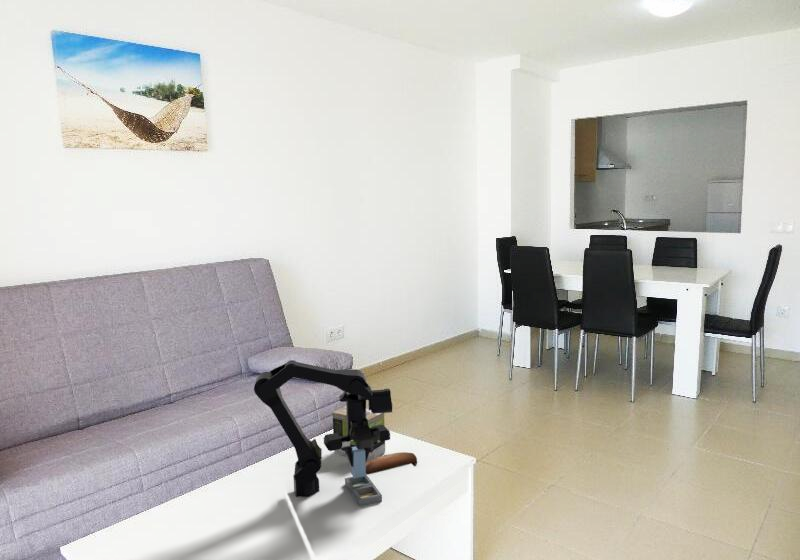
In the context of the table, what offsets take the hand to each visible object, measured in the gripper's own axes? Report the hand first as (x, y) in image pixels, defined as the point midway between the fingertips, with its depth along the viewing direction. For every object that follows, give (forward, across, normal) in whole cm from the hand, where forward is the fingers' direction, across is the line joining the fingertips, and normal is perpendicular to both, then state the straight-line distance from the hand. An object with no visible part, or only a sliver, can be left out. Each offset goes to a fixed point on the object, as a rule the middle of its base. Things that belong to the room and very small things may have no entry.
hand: (358, 464), depth 169 cm
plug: (+3, 0, 0) cm, 3 cm away
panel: (+8, 0, -4) cm, 9 cm away
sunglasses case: (+9, +13, +11) cm, 19 cm away
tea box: (+8, +8, +24) cm, 26 cm away
